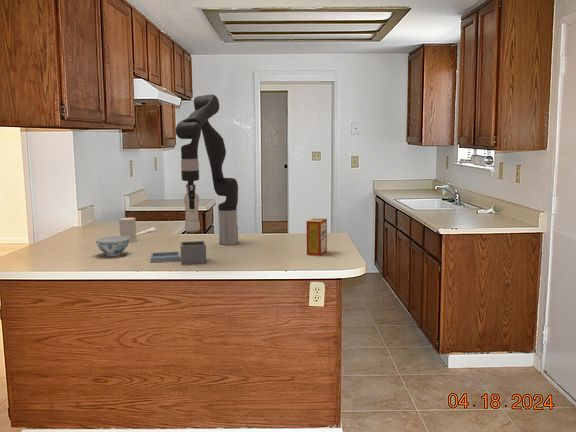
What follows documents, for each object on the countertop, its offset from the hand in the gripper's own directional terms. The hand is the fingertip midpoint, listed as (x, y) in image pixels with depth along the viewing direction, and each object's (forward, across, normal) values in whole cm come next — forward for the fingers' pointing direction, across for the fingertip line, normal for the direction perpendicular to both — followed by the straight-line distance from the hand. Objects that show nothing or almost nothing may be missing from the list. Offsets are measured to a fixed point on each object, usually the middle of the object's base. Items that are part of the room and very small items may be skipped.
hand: (191, 207), depth 254 cm
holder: (+24, 0, 0) cm, 24 cm away
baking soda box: (+24, +2, -56) cm, 61 cm away
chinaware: (+24, +24, +36) cm, 49 cm away
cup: (+24, +57, +31) cm, 69 cm away
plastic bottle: (+11, 0, 0) cm, 11 cm away
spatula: (+25, +75, +25) cm, 83 cm away
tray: (+24, +8, +12) cm, 28 cm away
